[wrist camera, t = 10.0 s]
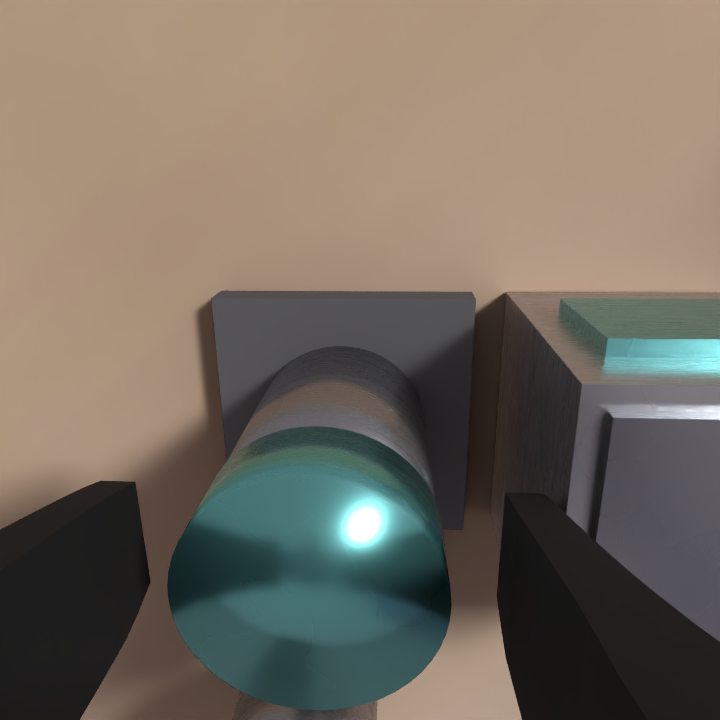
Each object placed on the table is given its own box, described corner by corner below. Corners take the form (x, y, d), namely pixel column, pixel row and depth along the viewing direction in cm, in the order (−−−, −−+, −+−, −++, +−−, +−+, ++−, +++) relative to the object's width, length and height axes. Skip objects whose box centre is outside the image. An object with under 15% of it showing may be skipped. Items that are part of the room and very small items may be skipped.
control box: (683, 518, 15) (864, 743, 9) (490, 512, 15) (545, 725, 10) (731, 280, 13) (999, 373, 7) (507, 279, 13) (589, 368, 8)
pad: (460, 512, 15) (463, 529, 15) (240, 505, 16) (232, 522, 15) (471, 292, 14) (475, 299, 13) (221, 291, 14) (211, 298, 13)
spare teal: (437, 487, 14) (466, 698, 9) (278, 506, 15) (206, 719, 9) (414, 331, 13) (431, 460, 7) (241, 357, 14) (132, 497, 8)
